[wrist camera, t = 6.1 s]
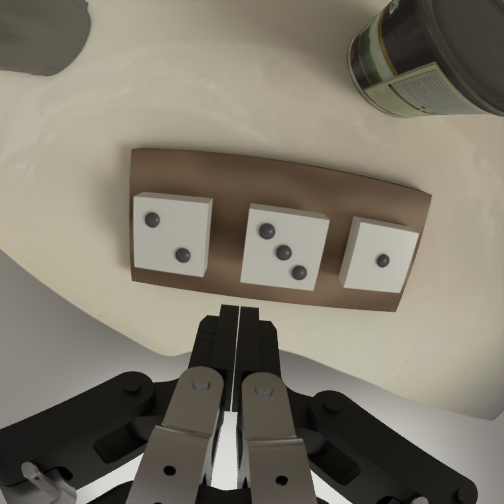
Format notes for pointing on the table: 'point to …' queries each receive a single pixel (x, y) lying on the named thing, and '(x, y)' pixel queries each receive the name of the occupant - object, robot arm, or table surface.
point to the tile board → (280, 195)
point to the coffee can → (432, 58)
